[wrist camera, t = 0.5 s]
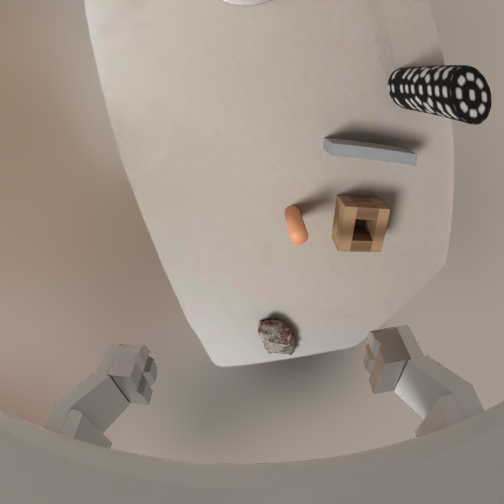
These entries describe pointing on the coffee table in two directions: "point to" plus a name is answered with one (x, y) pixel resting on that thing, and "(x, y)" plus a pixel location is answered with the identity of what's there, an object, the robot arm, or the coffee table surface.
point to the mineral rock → (276, 337)
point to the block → (359, 237)
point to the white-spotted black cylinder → (442, 91)
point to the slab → (369, 151)
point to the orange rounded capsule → (296, 225)
